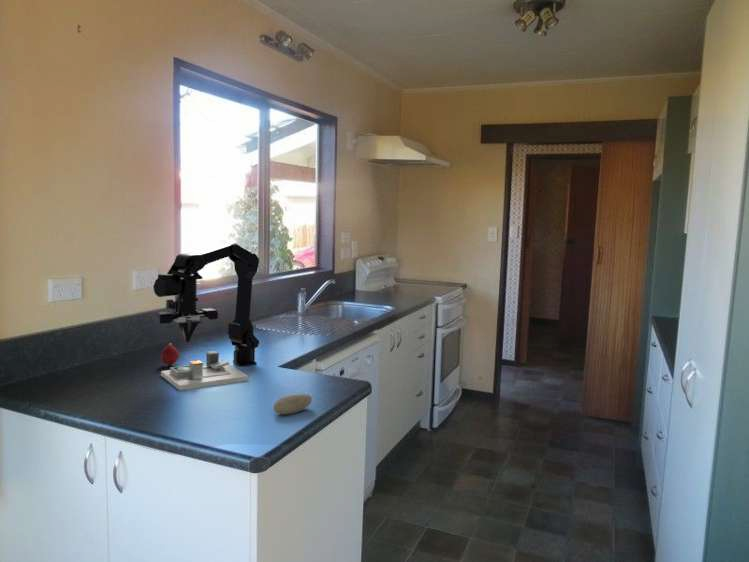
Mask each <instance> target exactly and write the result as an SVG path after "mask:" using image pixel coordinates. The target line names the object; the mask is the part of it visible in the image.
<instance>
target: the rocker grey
mask: <svg viewBox="0 0 749 562" xmlns="http://www.w3.org/2000/svg"><path fill="white" fill-rule="evenodd" d="M226 365H230V362H229V361H227V360H225V359H223V360H218V362H216V363H213V364H210V366H211V367H212V368H213V369H217V368H220V367H223V366H226Z"/></svg>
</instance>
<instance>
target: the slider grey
mask: <svg viewBox="0 0 749 562" xmlns="http://www.w3.org/2000/svg"><path fill="white" fill-rule="evenodd" d="M205 354H206V355H205V356H206V358H205V359H206V363H205V364H206V365H205V366H207V367H209V368H212V367H211V366H210V364H213V363H216V362H219V355H220V352H219V351H217V350H209V351H206V352H205Z"/></svg>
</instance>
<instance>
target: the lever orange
mask: <svg viewBox="0 0 749 562" xmlns="http://www.w3.org/2000/svg"><path fill="white" fill-rule="evenodd" d="M188 363H189V364H188V365H190V378H191V379H193V380H194V379H201V378H202V376H203V366H204V362H202V361H201V360H200V359H199V360H191V361H190V360H189V362H188Z"/></svg>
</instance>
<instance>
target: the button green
mask: <svg viewBox="0 0 749 562" xmlns="http://www.w3.org/2000/svg"><path fill="white" fill-rule="evenodd" d="M189 370H190V367H180V368H177V371H178V372H182V371H189Z"/></svg>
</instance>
